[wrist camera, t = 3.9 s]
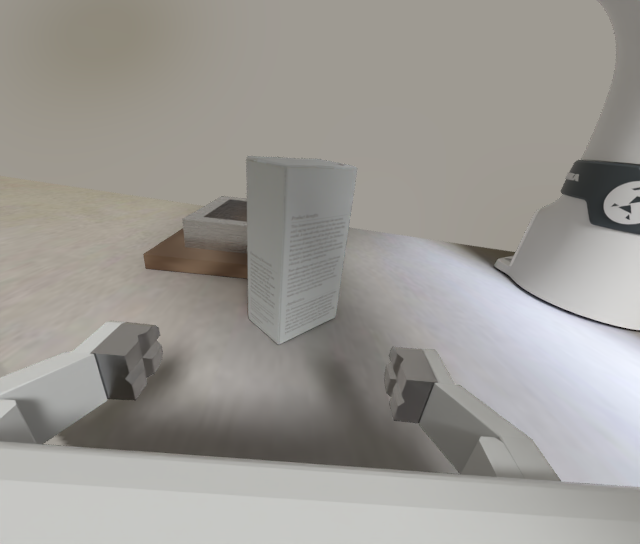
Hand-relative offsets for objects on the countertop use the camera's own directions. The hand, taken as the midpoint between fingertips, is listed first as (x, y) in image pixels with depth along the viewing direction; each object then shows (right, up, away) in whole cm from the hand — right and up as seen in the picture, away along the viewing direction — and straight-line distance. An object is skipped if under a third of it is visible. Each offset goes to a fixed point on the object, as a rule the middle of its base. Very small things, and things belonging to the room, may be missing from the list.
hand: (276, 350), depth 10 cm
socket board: (-6, +6, +26) cm, 28 cm away
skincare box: (-1, -1, +13) cm, 13 cm away
